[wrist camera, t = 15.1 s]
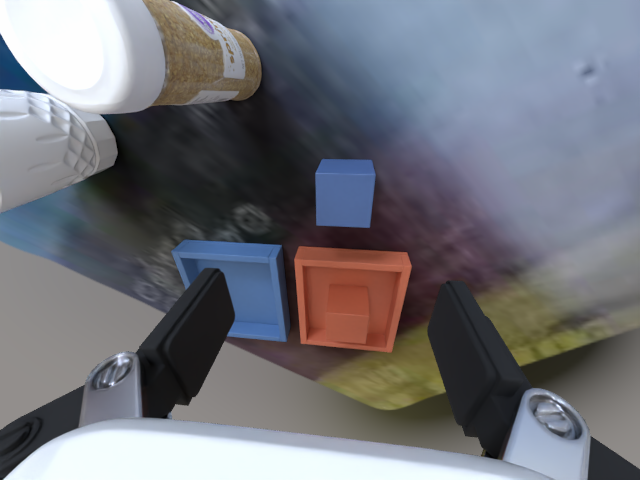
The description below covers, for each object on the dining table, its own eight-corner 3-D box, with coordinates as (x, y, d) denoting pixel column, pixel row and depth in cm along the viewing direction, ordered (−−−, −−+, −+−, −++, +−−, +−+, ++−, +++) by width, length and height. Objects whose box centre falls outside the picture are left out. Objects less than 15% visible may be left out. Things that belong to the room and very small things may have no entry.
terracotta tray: (407, 251, 26) (412, 266, 24) (389, 335, 33) (391, 352, 31) (298, 245, 27) (294, 259, 25) (304, 328, 34) (300, 343, 32)
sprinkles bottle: (270, 47, 18) (128, -23, 7) (254, 111, 20) (129, 138, 9) (210, 16, 18) (-55, -120, 6) (201, 85, 20) (-3, 79, 9)
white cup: (104, 88, 21) (-66, 87, 12) (136, 179, 25) (25, 224, 17) (21, 83, 21) (-196, 79, 13) (66, 173, 26) (-76, 213, 17)
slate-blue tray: (282, 245, 27) (276, 258, 25) (290, 326, 34) (286, 342, 32) (184, 239, 28) (170, 251, 26) (212, 319, 35) (203, 334, 33)
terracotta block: (367, 286, 28) (369, 316, 24) (364, 313, 31) (365, 344, 27) (329, 283, 29) (325, 312, 25) (329, 310, 31) (325, 340, 27)
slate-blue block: (371, 159, 21) (375, 174, 18) (367, 206, 24) (369, 228, 20) (321, 158, 22) (315, 173, 18) (322, 204, 24) (316, 225, 20)
